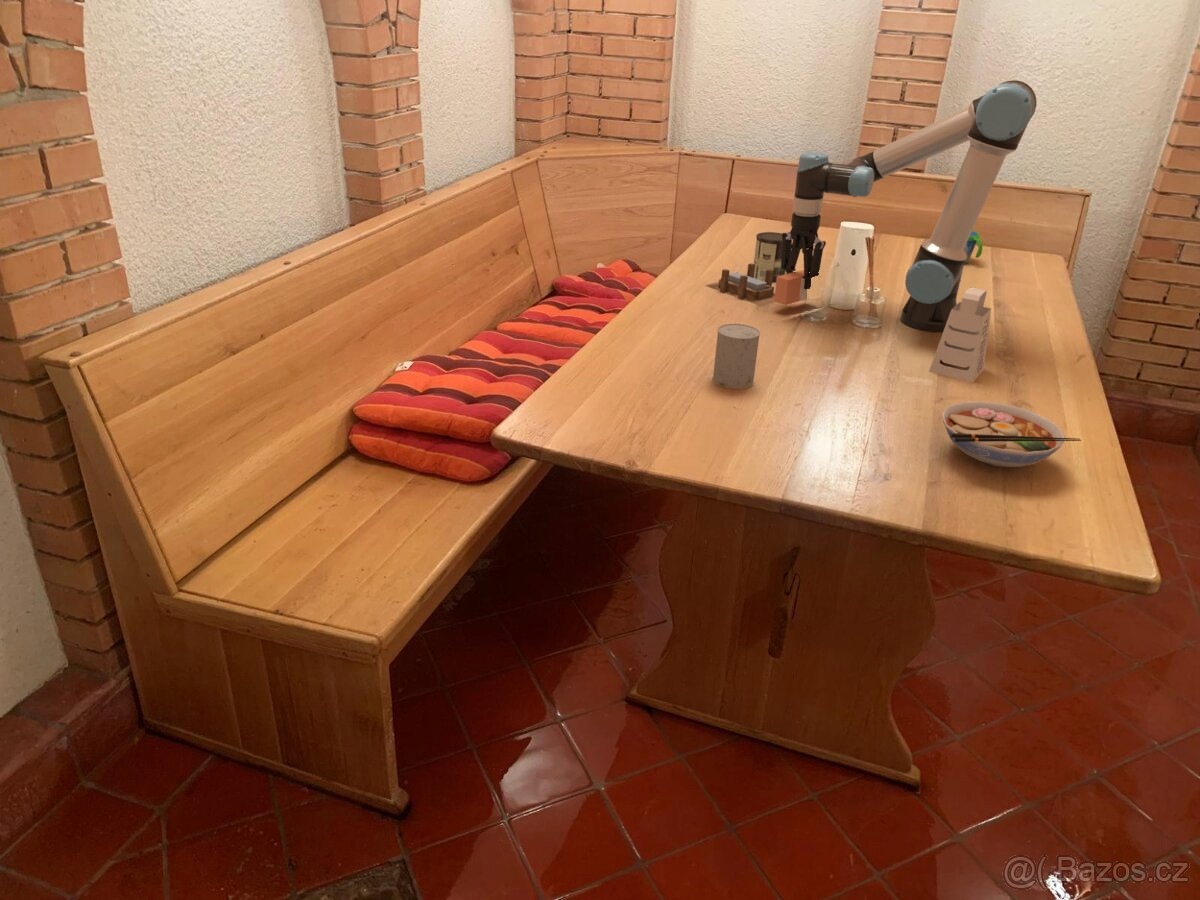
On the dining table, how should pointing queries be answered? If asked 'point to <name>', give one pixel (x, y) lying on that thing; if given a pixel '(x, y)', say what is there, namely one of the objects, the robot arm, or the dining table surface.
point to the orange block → (788, 287)
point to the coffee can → (768, 255)
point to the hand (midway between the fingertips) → (796, 297)
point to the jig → (742, 290)
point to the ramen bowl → (1002, 433)
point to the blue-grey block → (748, 281)
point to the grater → (964, 338)
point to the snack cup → (973, 245)
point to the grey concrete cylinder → (736, 356)
